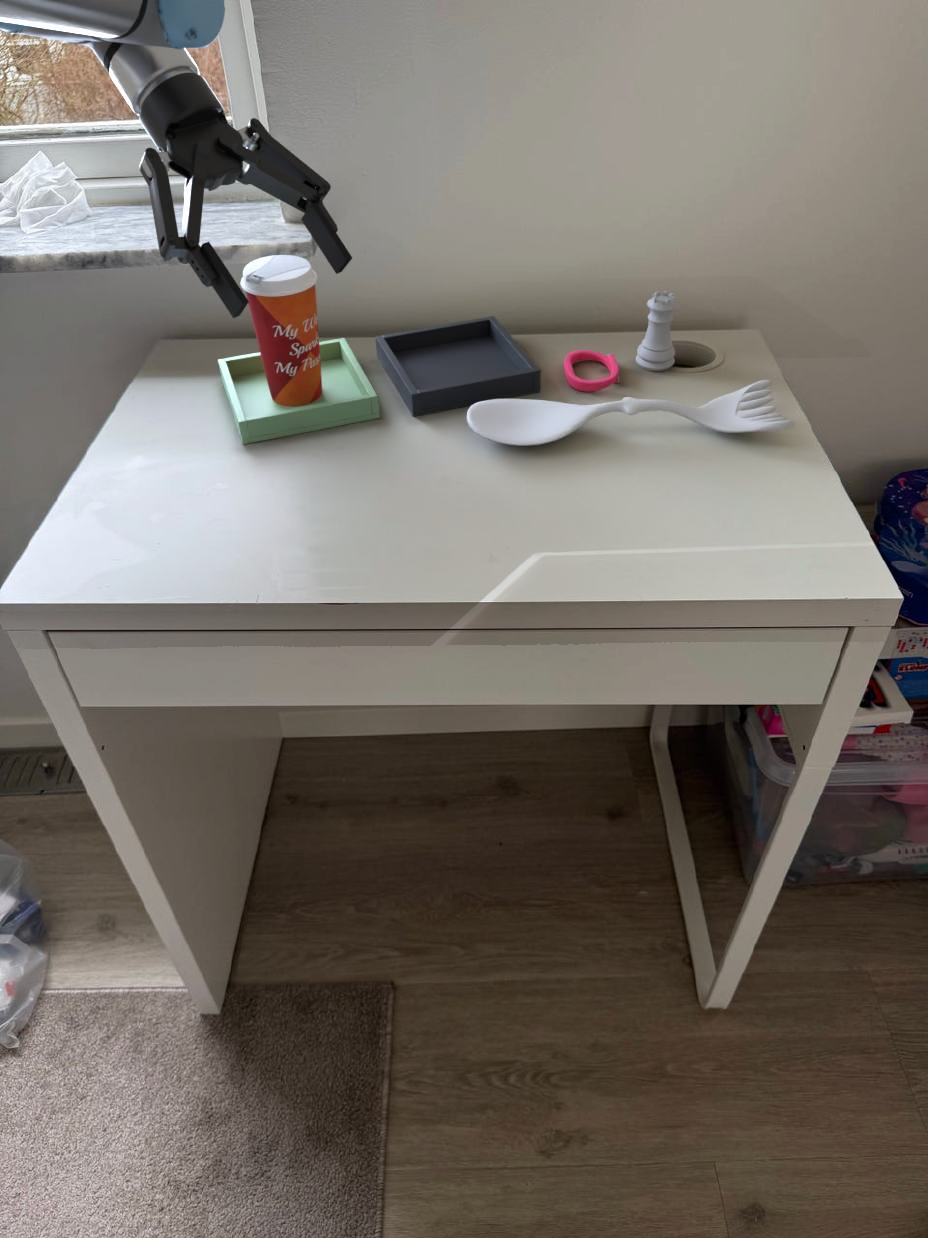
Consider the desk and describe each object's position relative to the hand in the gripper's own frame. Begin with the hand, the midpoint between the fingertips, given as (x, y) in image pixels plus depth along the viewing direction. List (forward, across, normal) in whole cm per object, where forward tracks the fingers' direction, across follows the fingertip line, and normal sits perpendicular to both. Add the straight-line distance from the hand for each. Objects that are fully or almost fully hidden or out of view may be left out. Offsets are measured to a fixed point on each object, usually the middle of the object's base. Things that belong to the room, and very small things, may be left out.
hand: (295, 287), depth 94 cm
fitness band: (+23, -24, +4) cm, 34 cm away
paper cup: (+7, 0, -11) cm, 13 cm away
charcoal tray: (+14, -15, -4) cm, 21 cm away
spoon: (+30, -17, +11) cm, 36 cm away
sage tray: (+8, 0, -11) cm, 13 cm away
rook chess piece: (+26, -31, +7) cm, 41 cm away
